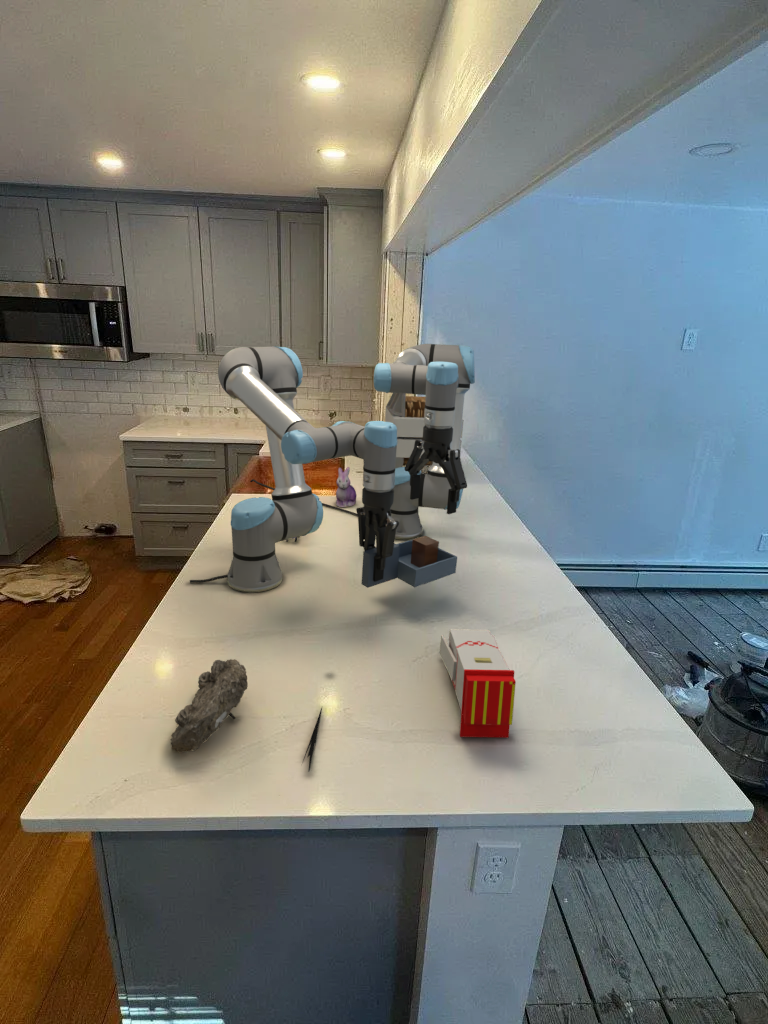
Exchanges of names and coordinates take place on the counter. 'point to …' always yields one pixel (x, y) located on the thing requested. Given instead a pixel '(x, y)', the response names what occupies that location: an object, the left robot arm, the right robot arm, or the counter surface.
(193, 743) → the fossil
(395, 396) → the grey slatted box
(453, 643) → the toy
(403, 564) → the tray
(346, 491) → the figurine
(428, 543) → the block
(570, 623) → the counter surface
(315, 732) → the feather
